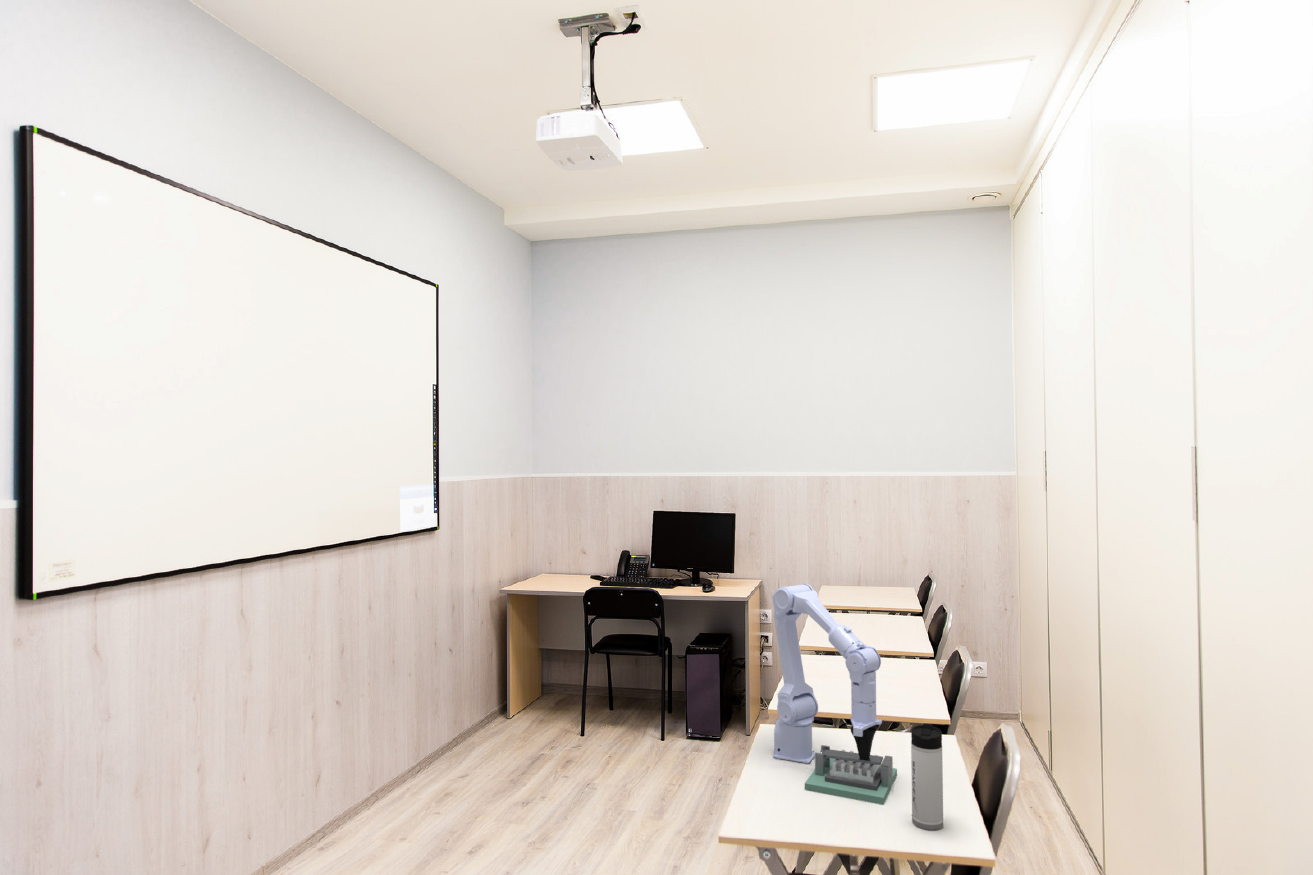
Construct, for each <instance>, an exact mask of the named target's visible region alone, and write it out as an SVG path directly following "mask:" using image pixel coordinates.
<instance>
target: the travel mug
mask: <svg viewBox="0 0 1313 875" xmlns="http://www.w3.org/2000/svg"><path fill="white" fill-rule="evenodd" d="M910 730H911V731H910V734H911V736H910V738H911V742H910V744H911V745H910V746H911V747H910V748H911V749H910V750H911V751H910V752H911V754H910V756H911V757H910V758H911V762H910V763H911V766H910V767H911V820H912V821H911V822H912V824H914V826H916V827H917V828H920V829H923V830H925V831H926V830H927V831H937V830H940V829H942V828H943V827H944V784H943V783H944V782H943V780H944V777H943V775H944V774H943V773H944V772H943V767H944V766H943V765H944V764H943V733H942V731H941V729H940V728H938V727H936V726H934V725H933V724H932V723H925V722H924V723H923V724H917V725H914V726H913V727H912V728H911V729H910Z"/></svg>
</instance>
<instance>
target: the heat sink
mask: <svg viewBox="0 0 1313 875" xmlns="http://www.w3.org/2000/svg"><path fill="white" fill-rule="evenodd" d="M823 748H826V749H831V745H825V744H821V745H820V751H821V750H822V749H823ZM840 751H846V750H845V749H841V750H840ZM849 752H853V753H855V752H854V751H853V750H850V751H849ZM875 756H880V755H878V754H875ZM893 760H894V759H893V756H891V755H885V756H884V757H883V760H882V762H881V764H880V765H875V764H868V763H861V762H854V761H847V760H840V759H835V761H834V762H833V764H832V768H831V769H830V776H831V777H836V778H842V779H848V780H853V781H859V782H864V783H870V784H874V782H875V780H876V778H877V776H878V774H879V772H880V770H881V786H882V787H889V785H890V783H891V781H892V778H893V768H894V767H893V764H894V763H893V762H894V761H893ZM814 764H815V766H814V767H815V768H814V769H815V775H819V776H824V767H827V768H829V767H830V758H826V757H824V754H821V753H820V752H817V753H815V756H814Z"/></svg>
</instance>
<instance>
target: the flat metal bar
mask: <svg viewBox="0 0 1313 875" xmlns="http://www.w3.org/2000/svg"><path fill="white" fill-rule="evenodd" d="M819 753H821V754H824V757H826V758H833V759H840V760H847V761H854V762H861V763H868V764H875V765H880V764H881V763H882V761H883V759H884V756H881V755H879V756H875V755H876V754H875V755H873V754H870V756H869V758H868V759H865V758H860V757H859V754H858V752H854V753H853V752H850V751H846V750H845V751H841V750H839V749H838V750H837V749H831V748H830V749H826V748H823V749H822V750H821V749H820V752H819Z"/></svg>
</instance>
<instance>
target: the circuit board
mask: <svg viewBox="0 0 1313 875" xmlns="http://www.w3.org/2000/svg"><path fill="white" fill-rule="evenodd" d="M834 761H835V759H833V758H830V767H829V768H827V767H824V776H819V775H815V768H814V769H813V771H812V772H811V774H809V776H808V778H807V780H805V782H804V790H805V791H809V792H813V793H814V792H815V793H821V794H825V795H831V796H836V797H840V798H841V797H842V798H846V799H853V800H856V801H857V800H858V801H862V802H863V801H864V802H868V803H873V804H878V805H884V804H885V802H886V801H887V798H888V796H889V794H890V792H891V789H892V788H893V784H894V782H895V780H896V778H897V776H898V769H897V768H894V767H893V778H892V781H891V783H890V785H889V787H882V786H881V770H880V772H879V774H878V776H877V778H876V780H875V782H874V784H870V783H864V782H859V781H853V780H848V779H842V778H836V777H831V776H830V769H831V768H832V764H833V762H834Z"/></svg>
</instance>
